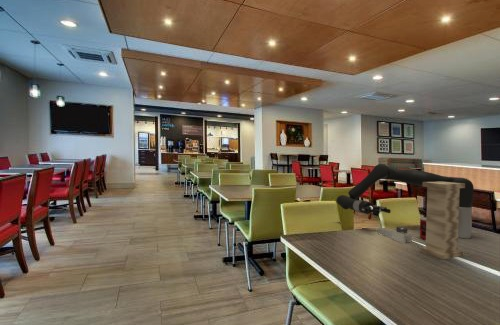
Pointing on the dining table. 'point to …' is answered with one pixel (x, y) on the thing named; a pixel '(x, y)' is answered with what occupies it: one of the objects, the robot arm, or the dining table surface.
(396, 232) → the grey elongated piece
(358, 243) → the dining table surface
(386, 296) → the dining table surface
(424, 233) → the canned food
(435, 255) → the stand
